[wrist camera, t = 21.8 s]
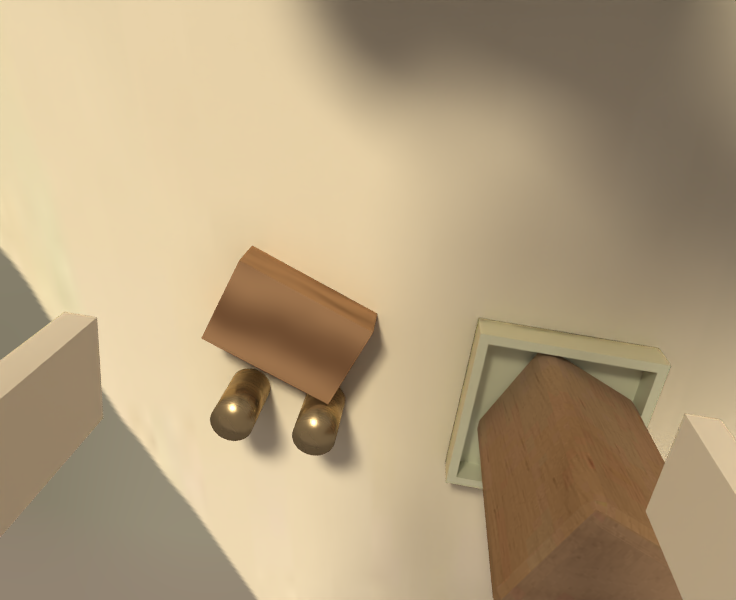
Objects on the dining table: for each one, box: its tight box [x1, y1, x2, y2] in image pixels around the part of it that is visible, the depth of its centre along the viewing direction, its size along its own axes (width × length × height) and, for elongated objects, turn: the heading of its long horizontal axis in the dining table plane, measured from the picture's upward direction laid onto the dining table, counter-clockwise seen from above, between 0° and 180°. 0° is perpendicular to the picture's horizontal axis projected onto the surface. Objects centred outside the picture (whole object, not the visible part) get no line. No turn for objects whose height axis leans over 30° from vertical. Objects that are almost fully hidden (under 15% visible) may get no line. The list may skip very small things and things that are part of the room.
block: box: [477, 353, 683, 600], centre depth 45 cm, size 10×10×20 cm
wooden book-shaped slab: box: [202, 246, 377, 404], centre depth 53 cm, size 8×12×4 cm, turn 61°
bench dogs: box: [210, 369, 345, 455], centre depth 55 cm, size 4×11×6 cm, turn 82°
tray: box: [445, 318, 671, 489], centre depth 54 cm, size 15×15×3 cm
